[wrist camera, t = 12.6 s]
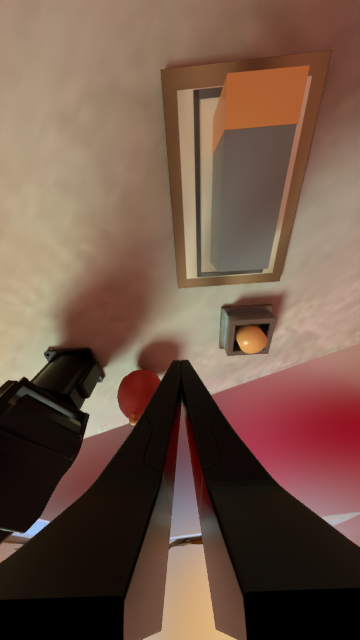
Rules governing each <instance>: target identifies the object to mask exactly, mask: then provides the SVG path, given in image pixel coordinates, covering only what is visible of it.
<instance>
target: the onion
mask: <svg viewBox="0 0 360 640" xmlns="http://www.w3.org/2000/svg"><path fill="white" fill-rule="evenodd" d="M160 382H161V381H160V379H159V378H158V376H157V375H156V374H155V373H153V372H152V371H150V370H147V369H141V370H136V371H133V372H131V373H130V374H128V375H127V376H125V377H124V379H123V380H122V381H121V384H120V386H119V390H118V396H117V398H118V403H119V407H120V409H121V411H122V412H123V414H124V415H125V416H126V417H127V418H129V423H130V424H132V425H135V424H136V423H137V422H138V420H139V418H140V416H141V415H142V413H143V412H144V410H145V408H146V406H147V404H148V403H149V401H150V399H151V398H152V396H153V394H154V392H155V391H156V389H157V387H158V385H159V384H160Z"/></svg>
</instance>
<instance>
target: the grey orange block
mask: <svg viewBox="0 0 360 640" xmlns="http://www.w3.org/2000/svg"><path fill="white" fill-rule="evenodd" d="M309 67H310V65H307V66H297V67H287V68H276V69H266V70H256V71H246V72H236V73H227V76H226V79H225V82H224V85H223V88H222V91H221V95H220V98H219V101H218V104H217V107H216V110H215V113H214V117H213V142H212V156H213V171H212V209H211V247H210V263H211V264H212V265H213V266H214V268H215V269H216V270H217V271H218V272H226V271H242V270H258V269H268V267H269V262H270V257H271V252H272V247H273V242H274V237H275V232H276V227H277V221H278V216H279V211H280V206H281V201H282V196H283V191H284V186H285V181H286V176H287V171H288V166H289V161H290V156H291V151H292V146H293V141H294V135H295V130H296V125H297V124H298V122H299V117H300V112H301V107H302V102H303V97H304V92H305V87H306V82H307V77H308V72H309Z"/></svg>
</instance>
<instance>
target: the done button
mask: <svg viewBox="0 0 360 640" xmlns="http://www.w3.org/2000/svg"><path fill="white" fill-rule="evenodd" d="M234 336H235V338H236V340H237V342H238V344H239V346H240V348H241V350H242V351H243V352H245V353H249V354H252V353H257V352H259V351H261V350H262V349H263V348H264V347H265V346H266V344H267V337H266V336H265V334H264V333H263V332H262V330H261V329H260V328H259V327H258V325H257V324H250V325H237V326H236V328H235V334H234Z"/></svg>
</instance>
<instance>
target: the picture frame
mask: <svg viewBox="0 0 360 640" xmlns="http://www.w3.org/2000/svg"><path fill="white" fill-rule="evenodd" d="M331 53H332V50H330V51H322V52H313V53H304V54H295V55H286V56H278V57H269V58H260V59H251V60H242V61H234V62H225V63H216V64H207V65H198V66H189V67H181V68H172V69H163V70H161V80H162V92H163V105H164V117H165V130H166V142H167V155H168V167H169V180H170V192H171V205H172V217H173V230H174V242H175V255H176V267H177V280H178V288H189V287H204V286H218V285H232V284H247V283H261V282H275V281H280V277H281V272H282V268H283V264H284V259H285V255H286V251H287V246H288V242H289V237H290V233H291V229H292V224H293V220H294V215H295V211H296V207H297V202H298V198H299V193H300V189H301V185H302V180H303V176H304V171H305V167H306V163H307V158H308V154H309V149H310V145H311V141H312V136H313V132H314V128H315V123H316V119H317V114H318V110H319V106H320V101H321V97H322V92H323V88H324V84H325V79H326V75H327V70H328V66H329V62H330V57H331ZM307 65H310V67H309V72H308V77H307V82H306V87H305V92H304V97H303V102H302V107H301V112H300V117H299V122H298V124H297V125H296V130H295V135H294V141H293V146H292V151H291V156H290V161H289V166H288V171H287V176H286V181H285V186H284V191H283V196H282V201H281V206H280V211H279V216H278V221H277V227H276V232H275V237H274V242H273V247H272V252H271V257H270V262H269V267H268V269H258V270H242V271H226V272H218V271H217V270H216V269H215V268H214V266H213V265H212V264H211V263H210V247H211V209H212V171H213V156H212V142H213V117H214V113H215V110H216V107H217V104H218V101H219V98H220V95H221V91H222V88H223V85H224V82H225V79H226V76H227V73H236V72H246V71H256V70H266V69H276V68H287V67H297V66H307Z"/></svg>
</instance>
